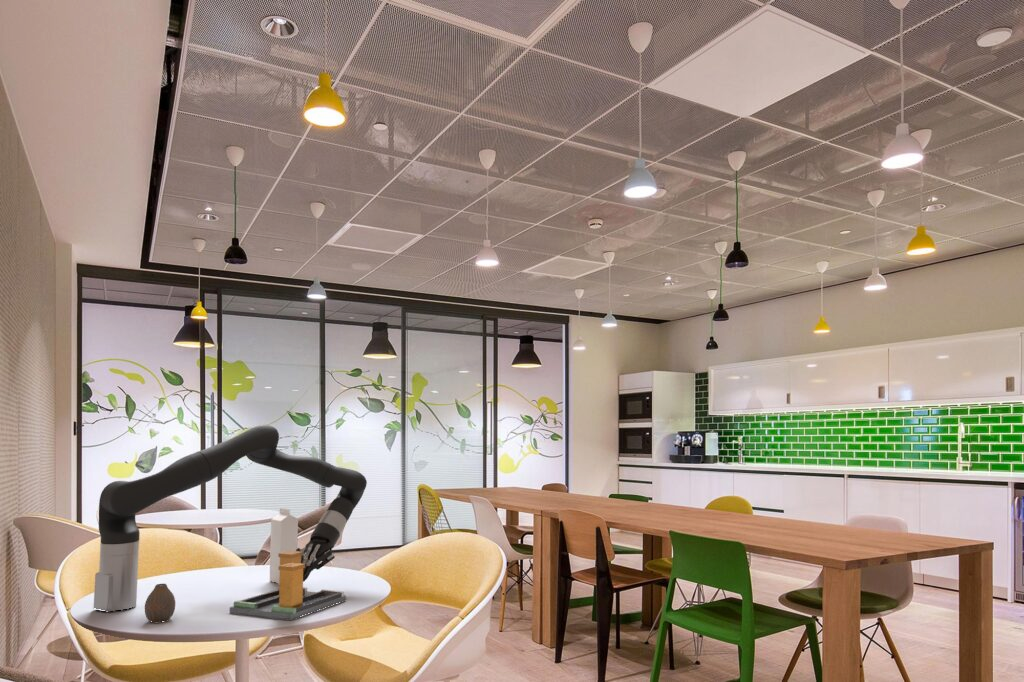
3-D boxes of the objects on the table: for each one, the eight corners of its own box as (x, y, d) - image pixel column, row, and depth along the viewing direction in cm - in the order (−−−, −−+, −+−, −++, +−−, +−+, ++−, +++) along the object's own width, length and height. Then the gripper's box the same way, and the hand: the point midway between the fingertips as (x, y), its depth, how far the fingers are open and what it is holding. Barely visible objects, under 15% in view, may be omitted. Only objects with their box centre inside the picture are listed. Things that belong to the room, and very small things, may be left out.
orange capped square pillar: (290, 595, 201) (291, 554, 203) (277, 594, 203) (278, 553, 205) (301, 592, 206) (302, 551, 207) (288, 590, 207) (289, 550, 209)
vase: (179, 617, 186) (180, 581, 187) (167, 624, 180) (169, 587, 180) (151, 617, 186) (153, 581, 187) (138, 624, 179) (140, 587, 180)
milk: (279, 584, 224) (280, 510, 226) (269, 581, 228) (270, 509, 230) (297, 580, 229) (298, 508, 231) (286, 578, 233) (288, 507, 235)
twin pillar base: (290, 620, 181) (291, 568, 183) (229, 613, 190) (231, 563, 191) (345, 601, 201) (346, 554, 203) (288, 594, 210) (289, 549, 211)
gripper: (352, 539, 219) (325, 589, 206) (316, 536, 224) (287, 585, 211) (342, 522, 214) (313, 573, 202) (305, 520, 220) (275, 569, 207)
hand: (300, 579), depth 207 cm, fingers closed
